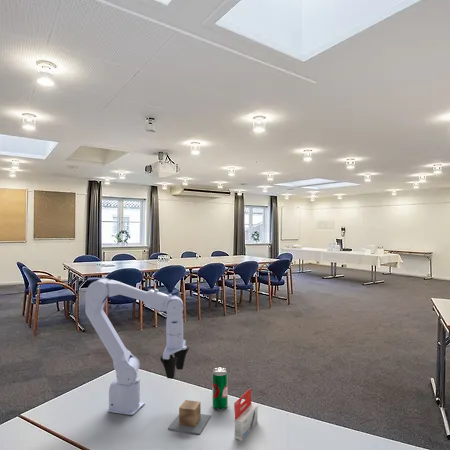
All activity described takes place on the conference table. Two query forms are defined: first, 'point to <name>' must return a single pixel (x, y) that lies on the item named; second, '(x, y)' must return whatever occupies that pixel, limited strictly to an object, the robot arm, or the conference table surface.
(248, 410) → the ink cartridge box
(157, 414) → the conference table surface
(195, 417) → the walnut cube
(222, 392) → the soda can
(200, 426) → the pad
